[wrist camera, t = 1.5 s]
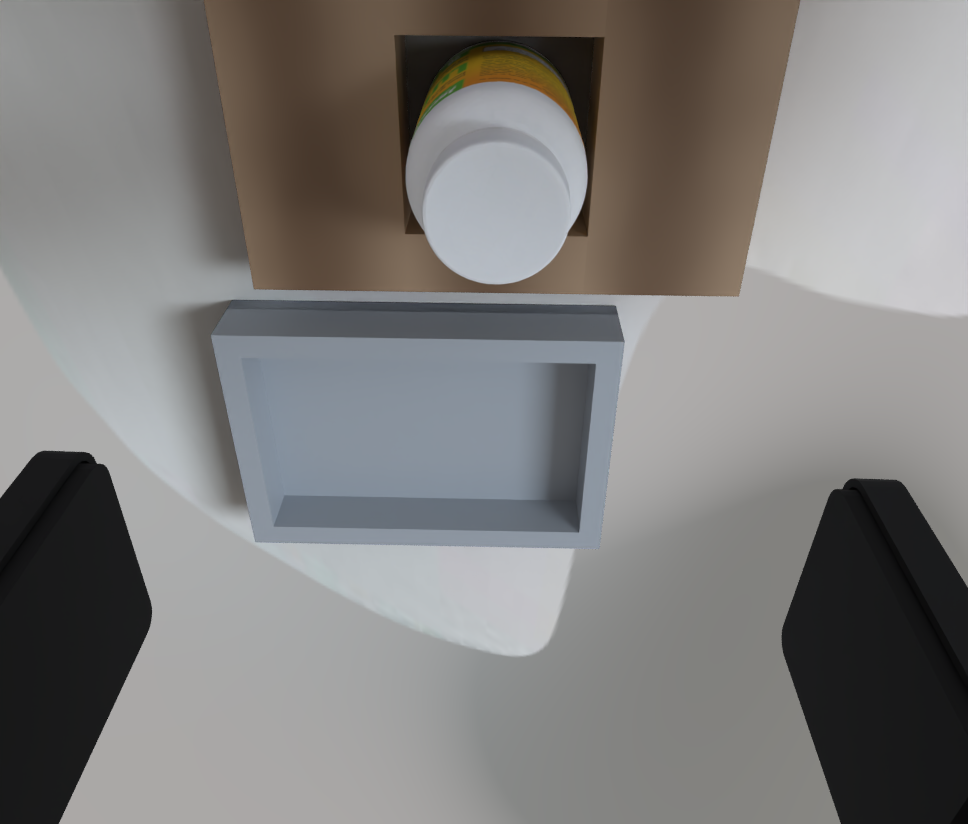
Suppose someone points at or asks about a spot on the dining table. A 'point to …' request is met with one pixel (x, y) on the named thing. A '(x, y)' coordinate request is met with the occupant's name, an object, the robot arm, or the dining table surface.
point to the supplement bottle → (497, 163)
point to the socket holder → (609, 151)
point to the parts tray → (422, 420)
